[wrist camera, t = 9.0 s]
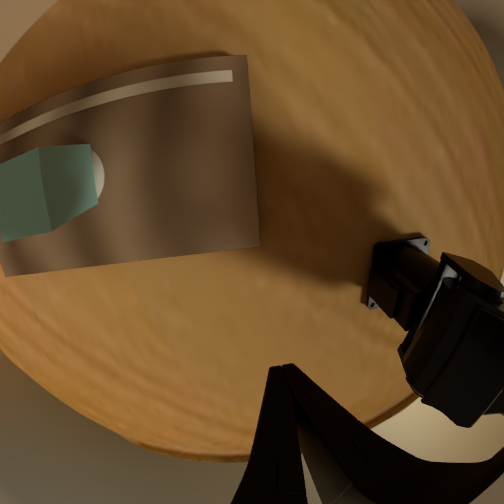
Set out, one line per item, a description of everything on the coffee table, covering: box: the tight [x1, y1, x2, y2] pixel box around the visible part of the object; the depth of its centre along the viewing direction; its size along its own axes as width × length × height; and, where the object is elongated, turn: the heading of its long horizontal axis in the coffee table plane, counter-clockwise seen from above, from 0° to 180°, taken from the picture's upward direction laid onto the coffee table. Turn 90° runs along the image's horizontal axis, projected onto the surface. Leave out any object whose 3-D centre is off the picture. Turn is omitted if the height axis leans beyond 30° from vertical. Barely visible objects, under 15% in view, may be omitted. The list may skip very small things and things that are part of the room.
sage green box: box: [0, 144, 98, 243], centre depth 12 cm, size 4×4×6 cm
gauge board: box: [0, 55, 260, 277], centre depth 14 cm, size 24×13×5 cm, turn 93°
